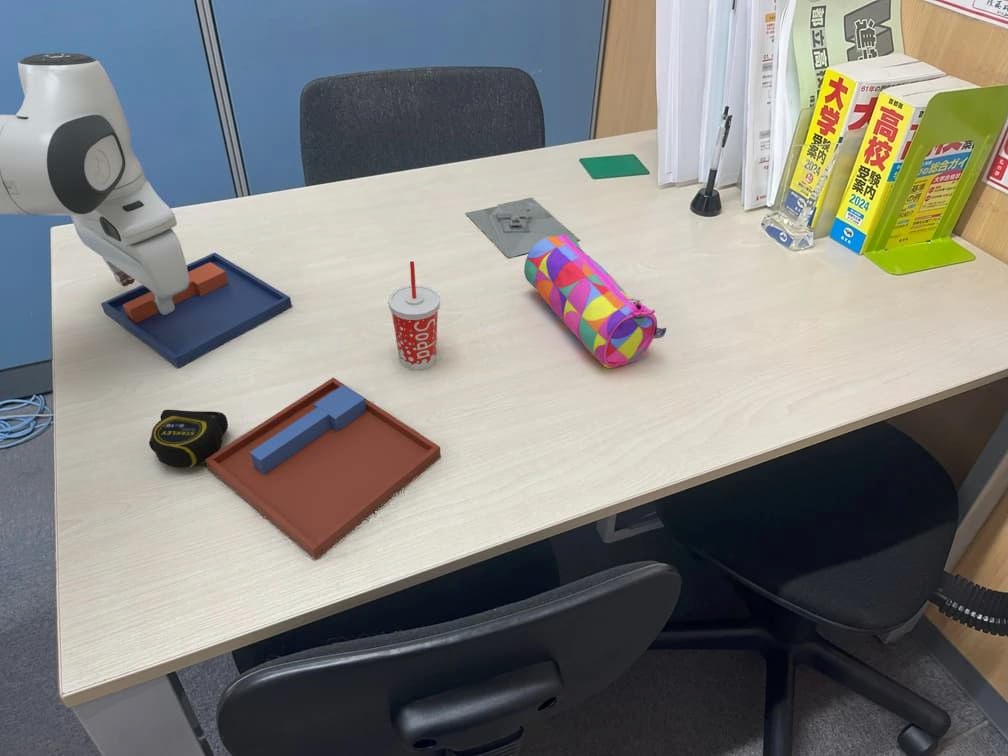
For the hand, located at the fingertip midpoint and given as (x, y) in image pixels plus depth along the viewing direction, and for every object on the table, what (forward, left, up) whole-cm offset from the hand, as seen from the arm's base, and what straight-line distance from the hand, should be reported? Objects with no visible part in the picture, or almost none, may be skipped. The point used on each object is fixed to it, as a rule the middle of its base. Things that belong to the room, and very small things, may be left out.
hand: (145, 296), depth 92 cm
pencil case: (+37, -44, -3) cm, 58 cm away
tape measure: (-10, -25, -3) cm, 27 cm away
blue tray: (+5, -3, -3) cm, 7 cm away
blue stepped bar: (0, -33, -3) cm, 33 cm away
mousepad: (+52, -16, -3) cm, 54 cm away
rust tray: (-2, -37, -3) cm, 38 cm away
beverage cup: (+17, -32, -3) cm, 37 cm away
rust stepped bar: (+5, 0, -3) cm, 5 cm away
